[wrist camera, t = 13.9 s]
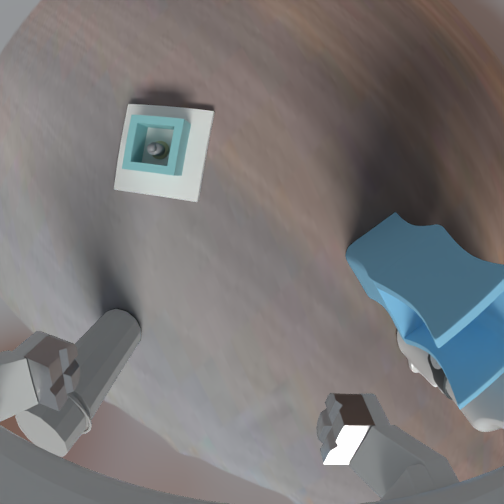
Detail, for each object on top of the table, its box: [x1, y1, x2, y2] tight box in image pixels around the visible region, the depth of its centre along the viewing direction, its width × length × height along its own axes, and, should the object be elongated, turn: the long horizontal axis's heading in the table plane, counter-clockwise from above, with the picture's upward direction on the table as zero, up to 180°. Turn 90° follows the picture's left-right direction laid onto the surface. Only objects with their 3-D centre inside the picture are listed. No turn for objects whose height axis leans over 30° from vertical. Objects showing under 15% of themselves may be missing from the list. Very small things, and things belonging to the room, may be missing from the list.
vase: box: [346, 212, 504, 409], centre depth 30 cm, size 10×10×25 cm
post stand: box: [114, 104, 215, 202], centre depth 36 cm, size 12×12×5 cm
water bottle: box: [15, 309, 141, 457], centre depth 33 cm, size 9×8×25 cm
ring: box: [122, 115, 191, 176], centre depth 35 cm, size 7×7×4 cm
